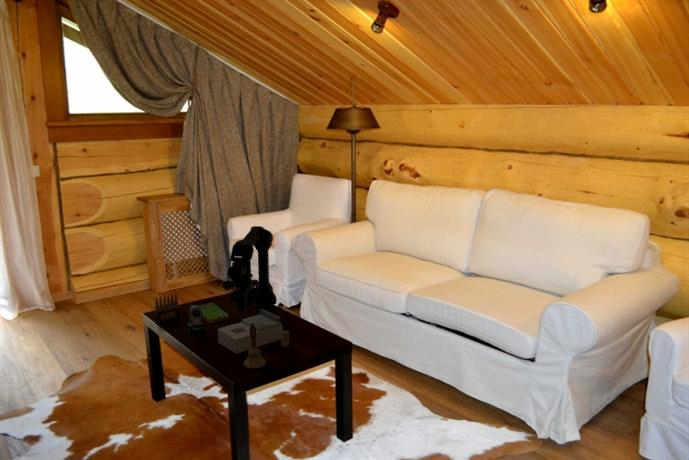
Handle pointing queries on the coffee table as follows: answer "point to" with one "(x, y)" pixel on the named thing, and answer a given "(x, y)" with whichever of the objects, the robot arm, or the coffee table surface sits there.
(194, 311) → the watch
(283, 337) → the brown rounded cylinder
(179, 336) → the coffee table surface
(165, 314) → the ammunition clip
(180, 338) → the coffee table surface
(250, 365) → the hand bell
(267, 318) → the lid
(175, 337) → the coffee table surface
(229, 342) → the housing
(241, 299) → the robot arm
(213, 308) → the game box
